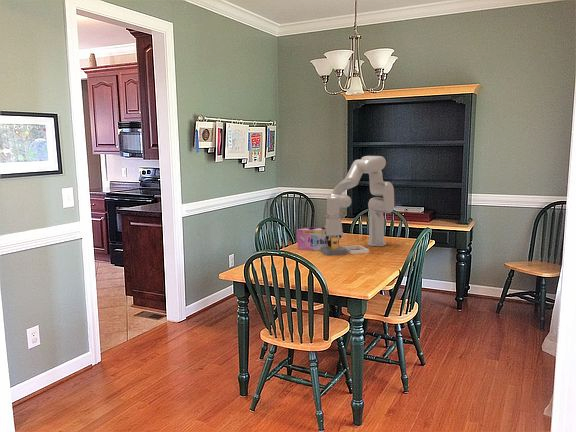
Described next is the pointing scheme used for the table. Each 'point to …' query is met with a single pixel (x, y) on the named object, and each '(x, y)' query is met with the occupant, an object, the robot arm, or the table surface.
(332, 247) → the block
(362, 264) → the table surface
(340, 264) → the table surface
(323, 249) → the gray square socket plate
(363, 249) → the parts tray
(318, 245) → the gum box
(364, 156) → the robot arm
